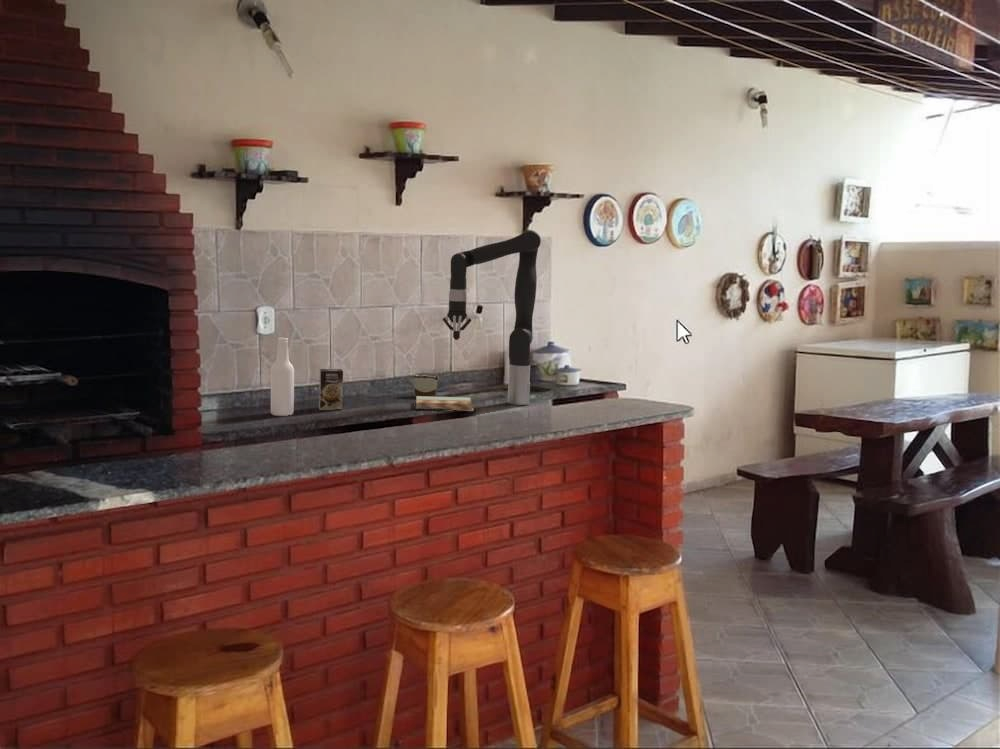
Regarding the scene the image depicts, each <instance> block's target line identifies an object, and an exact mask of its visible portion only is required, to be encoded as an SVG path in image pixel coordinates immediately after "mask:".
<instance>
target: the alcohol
mask: <svg viewBox="0 0 1000 749" xmlns="http://www.w3.org/2000/svg"><path fill="white" fill-rule="evenodd" d="M288 340H289V338H288V337H283V336H282V337H278V338H277V347H276V348H277V349H276V360H275V362H274V363H273V364H272V365H271V368H270V413H271V415H273V416H276V417H288V415H290V416H292V415H294V413H295V412H294V411H295V410H294V409H295V407H294V406H295V405H294V403H295V368H294V365H293V364H292V363H291V362H290V356H289V341H288Z"/></svg>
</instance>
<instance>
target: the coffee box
mask: <svg viewBox="0 0 1000 749" xmlns="http://www.w3.org/2000/svg"><path fill="white" fill-rule="evenodd" d="M318 382H319V383H318V384H319V385H318V386H319V387H318V392H319V393H318V409H319V411H336V410H335V409H342V410H343V394H344V393H343V392H344V391H343V389H344V386H343V385H344V370H343V369H341V368H320V369H319V381H318Z"/></svg>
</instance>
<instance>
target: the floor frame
mask: <svg viewBox="0 0 1000 749" xmlns="http://www.w3.org/2000/svg"><path fill="white" fill-rule="evenodd" d="M417 406H418V407H431V408H445V409H453V410H457V411H460V412H461V411H462V412H463V411H465V412H474V411H475V410H474V407H473V408H472V406H473V402H472V400H471V401H444V400H417ZM453 410H452V411H453ZM457 411H456V412H457Z"/></svg>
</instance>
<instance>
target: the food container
mask: <svg viewBox="0 0 1000 749" xmlns="http://www.w3.org/2000/svg"><path fill="white" fill-rule="evenodd" d="M411 379H412V382H413V394H414V395H413V397H416V396H430V397H437V389H438V381H440V376H439V375H438V374H435V373H429V372H420V373H419V372H418V373H413V374H412V376H411Z"/></svg>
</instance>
